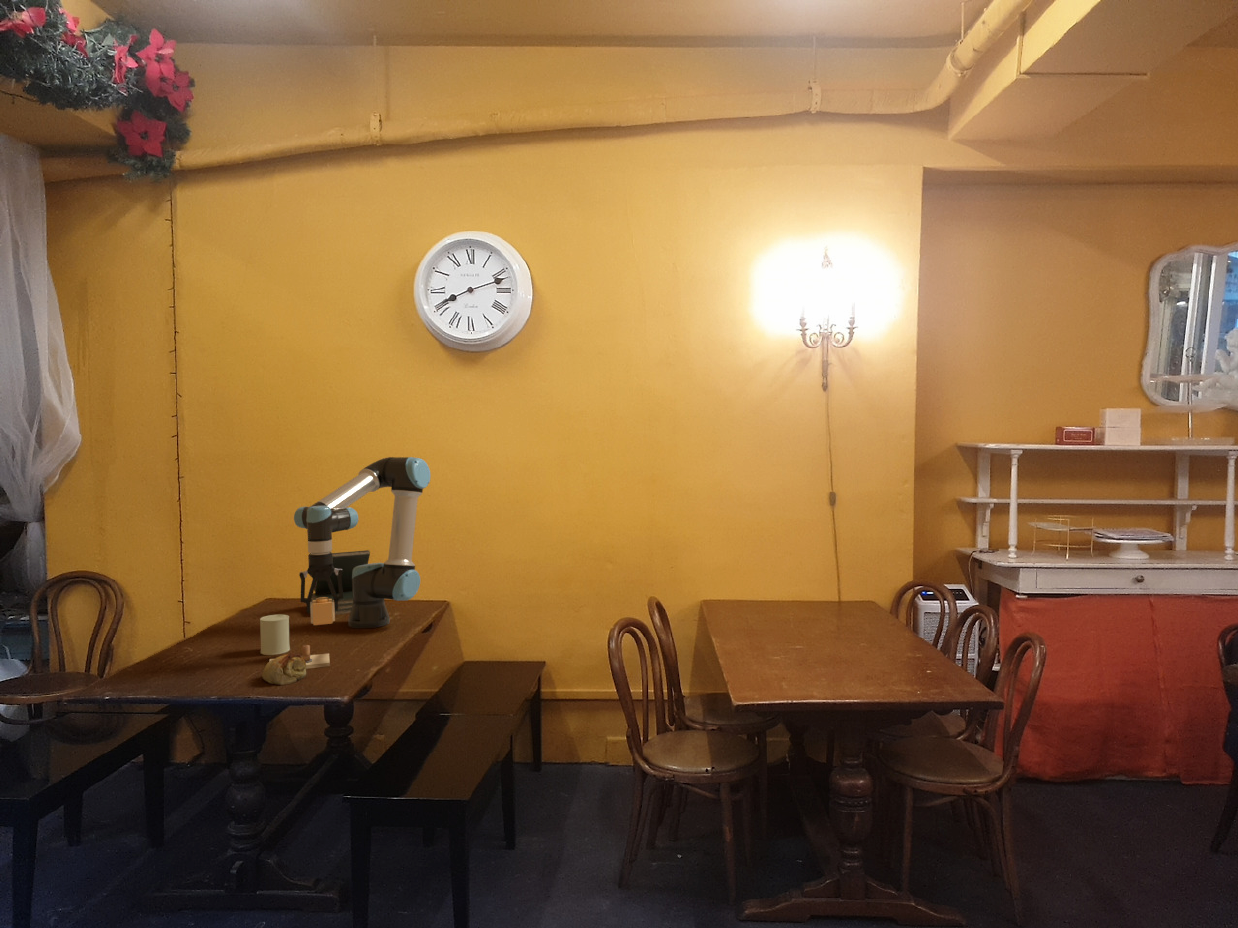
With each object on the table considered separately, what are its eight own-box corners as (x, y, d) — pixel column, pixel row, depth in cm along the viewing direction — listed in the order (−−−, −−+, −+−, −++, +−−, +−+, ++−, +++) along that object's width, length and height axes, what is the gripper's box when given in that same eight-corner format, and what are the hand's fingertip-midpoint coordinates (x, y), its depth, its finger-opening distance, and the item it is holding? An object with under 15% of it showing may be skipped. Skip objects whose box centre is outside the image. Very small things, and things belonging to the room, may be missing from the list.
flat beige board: (329, 656, 264) (328, 638, 263) (329, 666, 253) (329, 646, 253) (269, 662, 257) (269, 643, 257) (267, 672, 247) (267, 652, 247)
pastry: (299, 685, 236) (299, 658, 235) (255, 686, 234) (254, 659, 234) (312, 670, 250) (312, 645, 249) (271, 672, 248) (270, 646, 248)
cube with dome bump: (332, 618, 270) (331, 595, 270) (332, 623, 265) (331, 599, 264) (313, 620, 268) (312, 597, 268) (313, 625, 263) (312, 601, 262)
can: (296, 648, 274) (295, 614, 273) (276, 656, 265) (275, 620, 264) (274, 646, 277) (273, 612, 276) (254, 653, 268) (253, 618, 267)
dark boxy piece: (365, 601, 347) (364, 544, 346) (376, 610, 331) (375, 550, 329) (309, 608, 336) (308, 549, 335) (317, 617, 319) (316, 555, 318)
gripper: (350, 548, 272) (352, 615, 273) (289, 552, 265) (292, 621, 267) (350, 552, 265) (353, 620, 266) (289, 556, 258) (292, 627, 260)
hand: (323, 621), depth 267 cm, fingers closed on cube with dome bump, 6 cm apart
